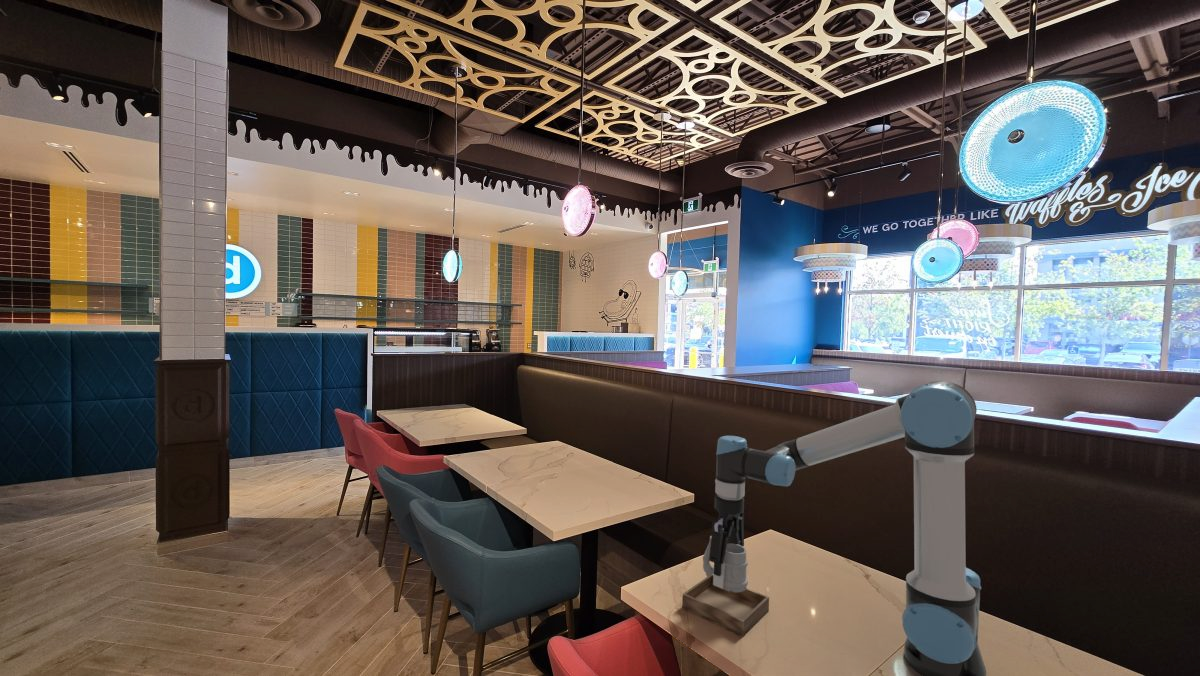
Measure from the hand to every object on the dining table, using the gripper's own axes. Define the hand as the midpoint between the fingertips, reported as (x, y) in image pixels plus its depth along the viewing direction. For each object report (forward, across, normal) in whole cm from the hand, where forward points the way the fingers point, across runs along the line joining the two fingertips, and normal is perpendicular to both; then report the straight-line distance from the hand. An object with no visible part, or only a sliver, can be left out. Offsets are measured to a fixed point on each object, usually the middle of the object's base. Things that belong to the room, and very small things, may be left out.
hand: (726, 580), depth 130 cm
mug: (+1, +1, 0) cm, 1 cm away
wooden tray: (+8, 0, 0) cm, 8 cm away
